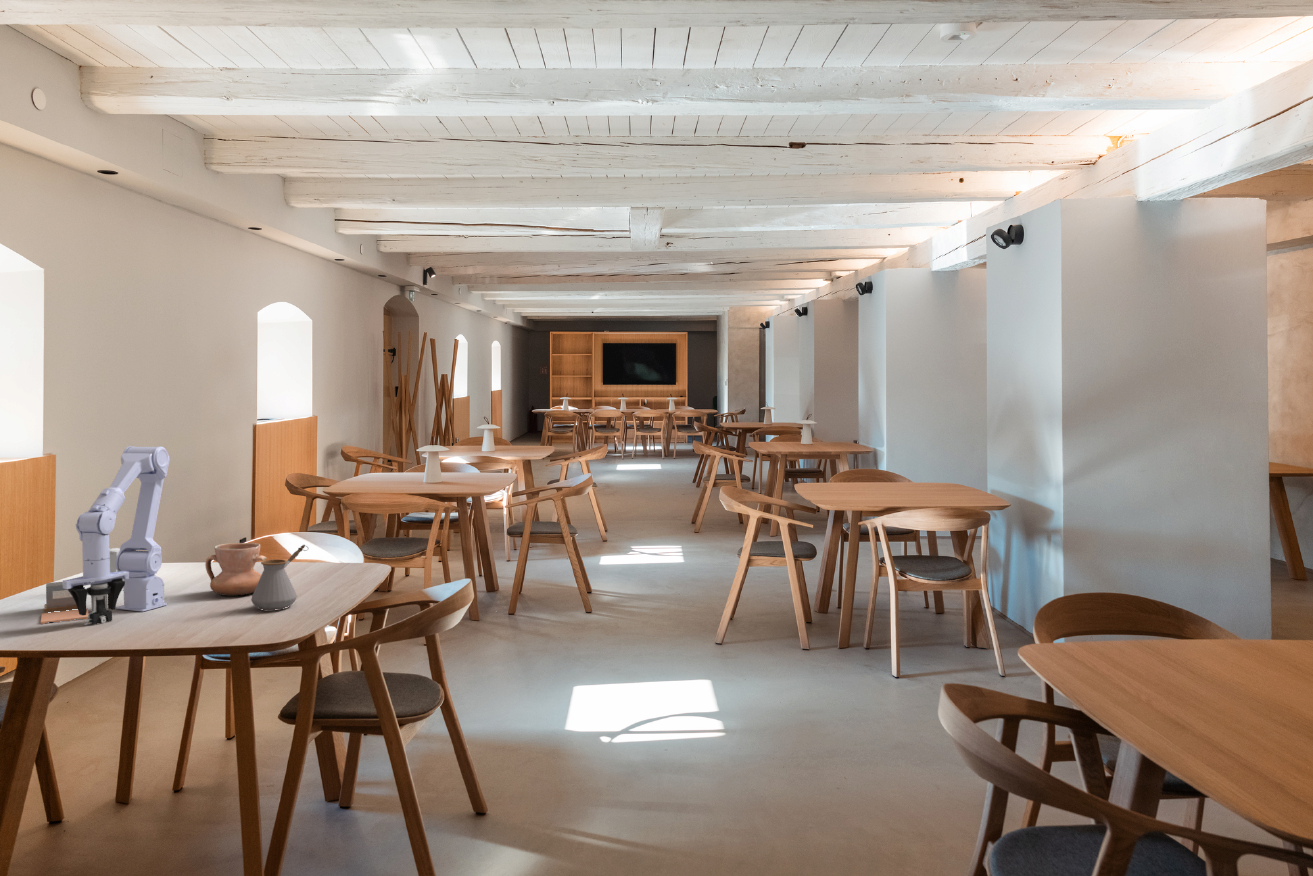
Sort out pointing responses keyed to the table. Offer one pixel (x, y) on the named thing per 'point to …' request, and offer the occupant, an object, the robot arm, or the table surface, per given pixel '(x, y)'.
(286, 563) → the coffee pot
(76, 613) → the terracotta mat
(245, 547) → the ceramic jug
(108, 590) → the push button
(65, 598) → the wall unit
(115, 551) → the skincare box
